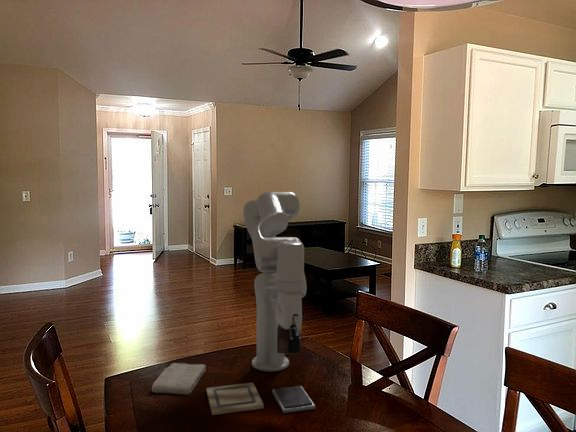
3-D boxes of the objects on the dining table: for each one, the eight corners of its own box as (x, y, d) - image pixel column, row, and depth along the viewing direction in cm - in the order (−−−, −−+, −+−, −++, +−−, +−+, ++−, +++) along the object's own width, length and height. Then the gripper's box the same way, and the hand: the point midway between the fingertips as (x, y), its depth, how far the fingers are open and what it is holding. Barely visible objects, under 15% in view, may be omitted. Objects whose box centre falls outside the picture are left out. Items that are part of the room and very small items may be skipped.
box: (298, 355, 123) (298, 329, 123) (276, 353, 124) (277, 327, 124) (301, 347, 129) (301, 322, 129) (280, 345, 130) (280, 320, 130)
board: (206, 391, 133) (206, 387, 133) (253, 385, 137) (253, 381, 137) (212, 415, 119) (212, 410, 119) (263, 408, 123) (263, 404, 123)
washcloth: (207, 370, 148) (207, 361, 148) (190, 397, 130) (190, 386, 130) (171, 369, 149) (171, 359, 149) (150, 394, 131) (150, 384, 131)
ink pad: (272, 392, 132) (272, 388, 132) (301, 389, 135) (301, 384, 135) (283, 413, 121) (283, 408, 121) (314, 408, 123) (315, 403, 123)
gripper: (268, 279, 132) (268, 337, 134) (286, 294, 116) (285, 360, 117) (292, 278, 135) (292, 335, 136) (313, 292, 118) (312, 357, 120)
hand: (289, 346), depth 127 cm, fingers closed on box, 8 cm apart
